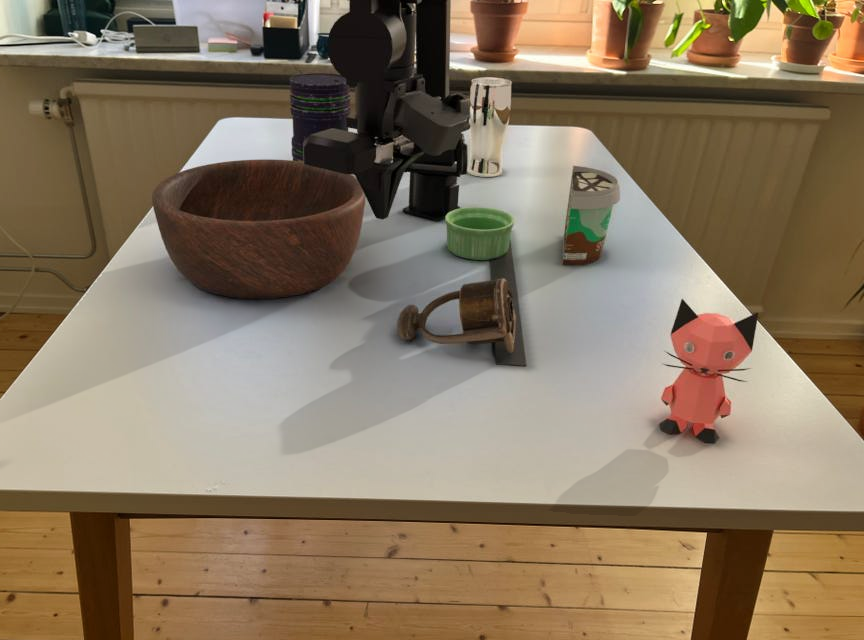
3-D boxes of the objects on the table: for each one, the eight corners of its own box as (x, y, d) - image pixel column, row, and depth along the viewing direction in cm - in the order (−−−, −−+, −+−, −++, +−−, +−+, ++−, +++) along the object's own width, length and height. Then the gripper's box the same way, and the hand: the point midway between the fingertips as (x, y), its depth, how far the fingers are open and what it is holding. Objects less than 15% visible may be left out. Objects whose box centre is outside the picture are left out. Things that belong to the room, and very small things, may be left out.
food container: (611, 273, 102) (625, 196, 98) (562, 268, 103) (573, 192, 99) (608, 239, 113) (620, 168, 108) (563, 235, 114) (573, 164, 109)
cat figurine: (643, 436, 71) (669, 313, 65) (654, 399, 77) (679, 281, 71) (729, 457, 69) (764, 331, 63) (734, 417, 74) (767, 297, 68)
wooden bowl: (184, 230, 112) (176, 156, 107) (365, 233, 113) (366, 159, 108) (138, 310, 91) (126, 221, 86) (363, 313, 91) (364, 226, 86)
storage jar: (281, 174, 136) (277, 81, 129) (308, 159, 144) (306, 71, 137) (335, 182, 133) (334, 87, 126) (360, 166, 141) (360, 76, 134)
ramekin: (446, 262, 105) (447, 229, 102) (441, 237, 112) (442, 206, 110) (516, 262, 105) (519, 230, 102) (506, 237, 112) (509, 206, 110)
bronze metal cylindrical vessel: (498, 329, 76) (543, 274, 82) (383, 286, 82) (433, 237, 88) (493, 384, 81) (536, 328, 87) (385, 340, 86) (432, 290, 93)
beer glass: (511, 170, 141) (520, 80, 133) (493, 180, 136) (501, 87, 128) (475, 163, 144) (481, 75, 137) (456, 173, 139) (462, 81, 131)
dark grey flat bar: (526, 366, 82) (526, 365, 82) (496, 364, 82) (496, 363, 82) (509, 232, 115) (509, 231, 115) (487, 231, 115) (487, 230, 115)
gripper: (398, 89, 68) (393, 263, 76) (504, 60, 81) (491, 211, 89) (297, 72, 74) (301, 236, 81) (412, 48, 87) (406, 191, 95)
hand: (381, 218), depth 86 cm, fingers closed
